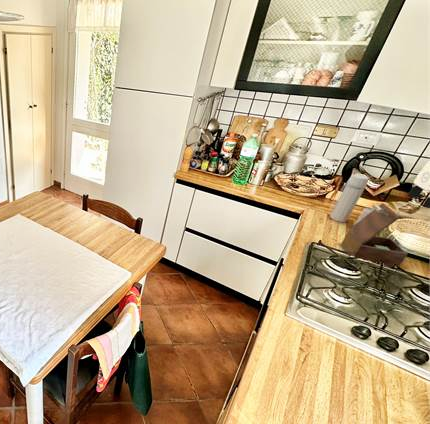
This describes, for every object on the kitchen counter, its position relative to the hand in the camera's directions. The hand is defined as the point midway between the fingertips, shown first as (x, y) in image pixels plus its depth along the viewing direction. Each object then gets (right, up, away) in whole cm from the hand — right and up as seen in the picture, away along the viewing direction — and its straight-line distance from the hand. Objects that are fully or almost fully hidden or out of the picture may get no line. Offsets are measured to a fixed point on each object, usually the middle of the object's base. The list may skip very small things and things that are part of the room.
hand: (419, 202), depth 121 cm
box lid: (-9, -9, +9) cm, 16 cm away
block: (-2, -24, +13) cm, 27 cm away
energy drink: (+11, -14, +35) cm, 39 cm away
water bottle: (+8, -8, +45) cm, 46 cm away
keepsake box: (-6, -24, +15) cm, 29 cm away
